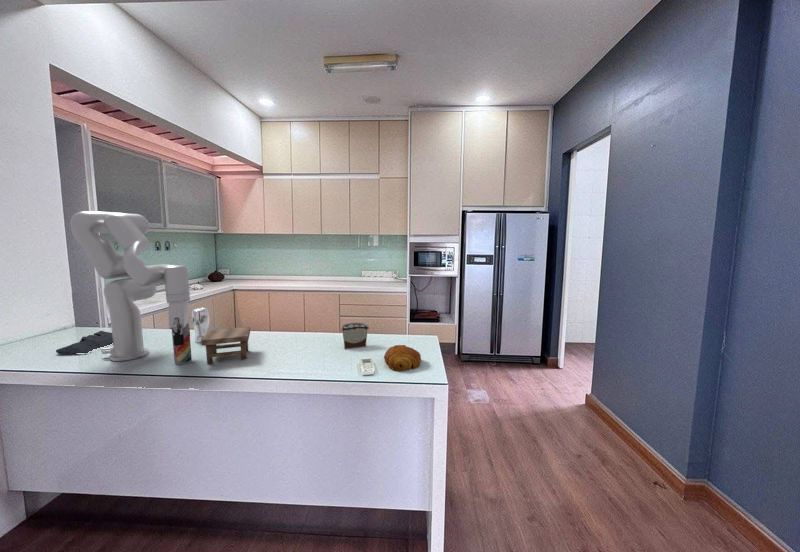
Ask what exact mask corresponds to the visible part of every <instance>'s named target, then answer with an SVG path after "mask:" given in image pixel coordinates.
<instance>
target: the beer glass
mask: <svg viewBox="0 0 800 552" xmlns="http://www.w3.org/2000/svg"><path fill="white" fill-rule="evenodd" d="M191 323H192V326H193V330H194V335H195V337H194V342H195V343H197V344H198V343H200V344H202V342H201V340H202V339H203V337H204V336H205V334H206V333H207V331H208V330H210V328H209V327H210V312H209V308H208V307H197V308H193V309H191Z"/></svg>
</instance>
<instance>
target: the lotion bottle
mask: <svg viewBox="0 0 800 552" xmlns="http://www.w3.org/2000/svg"><path fill="white" fill-rule="evenodd" d="M189 323H190V322H189ZM189 323H187V325H186V327H184V328H183V331H182V334H183V335H184V345H177V346H175V345H174V340H173V329H171V336H172V337H171V338H172V339H171V341H172V349H173V361H174V365H186V364H189V363H190V362H192V359H193V357H192V347H191V346H192V345H191V330H190V331H189V328H190V324H189ZM178 327H179V326H178ZM179 330H180V329H179Z"/></svg>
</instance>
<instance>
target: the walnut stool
mask: <svg viewBox="0 0 800 552" xmlns="http://www.w3.org/2000/svg"><path fill="white" fill-rule="evenodd" d="M250 334H251V326H243V327H231V328H220V329H208V331H207V333H206V334H205V336H204V337H203V339H202V340H201V342H202V343H201V346H205V351H206V353H205V354H206V364H207V365H212V364H214V358H221V357H231V356H240V360H241V361H246V360H247V359H248V354H247V352H249V338H250V336H251V335H250ZM229 348H240V350H233V351H224V352H218V350H220V349H221V350H222V349H229Z"/></svg>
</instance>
